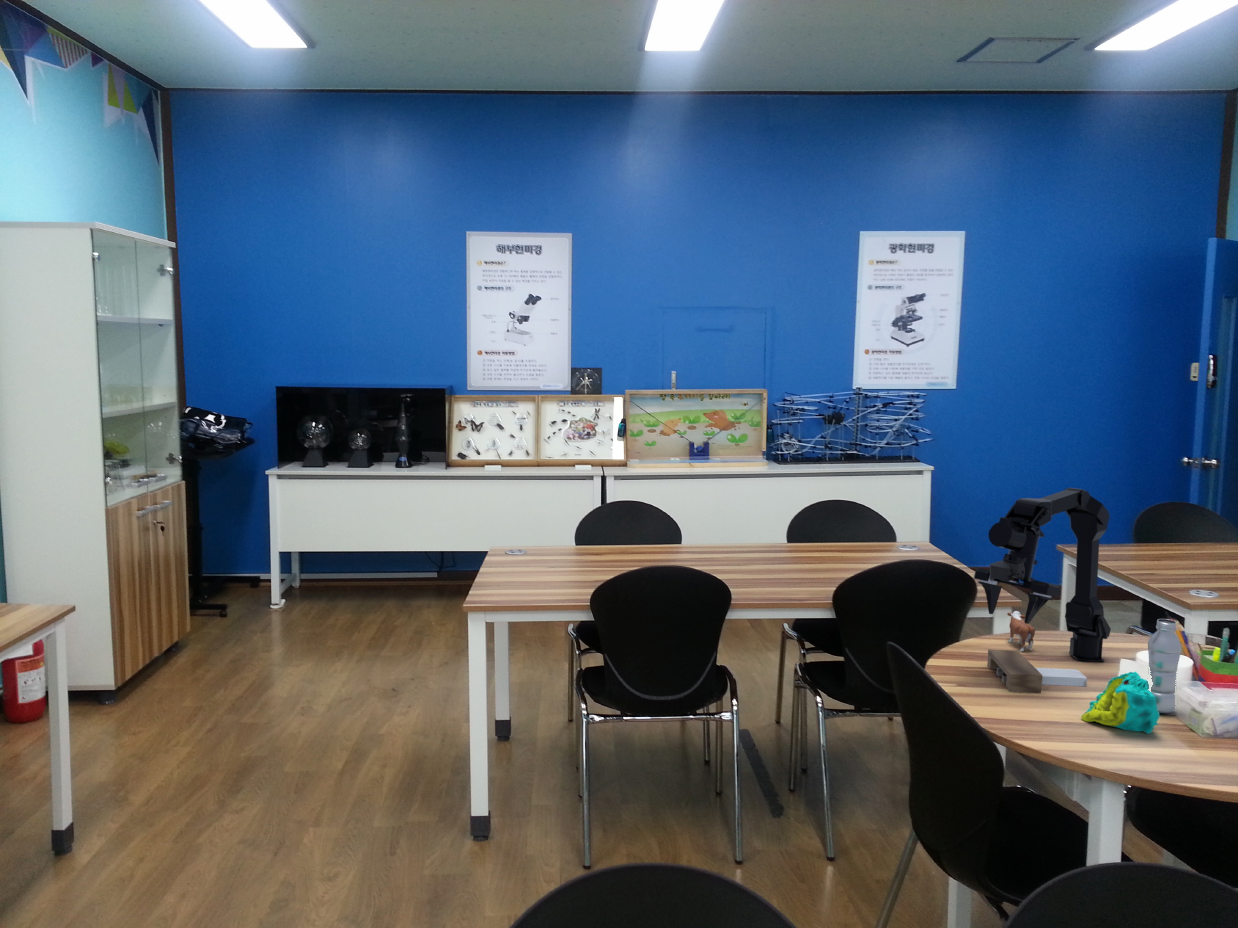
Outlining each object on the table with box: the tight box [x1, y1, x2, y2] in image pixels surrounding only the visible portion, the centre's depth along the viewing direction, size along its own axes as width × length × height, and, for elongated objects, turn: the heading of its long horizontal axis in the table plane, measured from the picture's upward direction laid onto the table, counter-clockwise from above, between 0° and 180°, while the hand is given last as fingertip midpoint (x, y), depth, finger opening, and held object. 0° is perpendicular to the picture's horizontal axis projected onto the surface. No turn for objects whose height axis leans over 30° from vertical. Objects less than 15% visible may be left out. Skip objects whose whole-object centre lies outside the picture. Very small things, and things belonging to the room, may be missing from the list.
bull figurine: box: [1007, 610, 1036, 653], centre depth 250 cm, size 4×13×8 cm, turn 174°
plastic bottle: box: [1147, 618, 1182, 714], centre depth 204 cm, size 6×7×20 cm
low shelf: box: [987, 648, 1043, 694], centre depth 224 cm, size 7×18×4 cm, turn 174°
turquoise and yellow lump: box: [1081, 671, 1160, 734], centre depth 197 cm, size 15×12×13 cm
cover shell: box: [1035, 667, 1088, 687], centre depth 224 cm, size 11×6×2 cm, turn 84°
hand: (1008, 618), depth 220 cm, fingers open, 9 cm apart
